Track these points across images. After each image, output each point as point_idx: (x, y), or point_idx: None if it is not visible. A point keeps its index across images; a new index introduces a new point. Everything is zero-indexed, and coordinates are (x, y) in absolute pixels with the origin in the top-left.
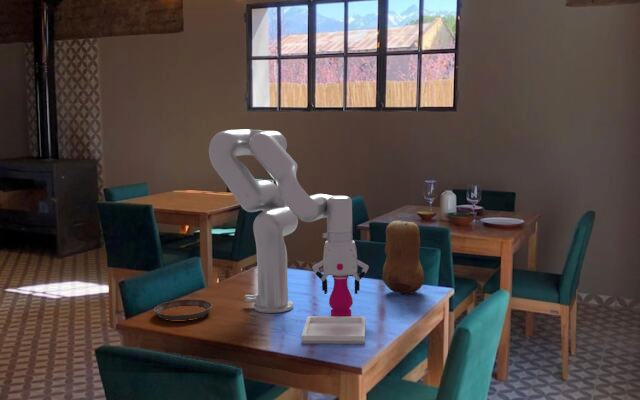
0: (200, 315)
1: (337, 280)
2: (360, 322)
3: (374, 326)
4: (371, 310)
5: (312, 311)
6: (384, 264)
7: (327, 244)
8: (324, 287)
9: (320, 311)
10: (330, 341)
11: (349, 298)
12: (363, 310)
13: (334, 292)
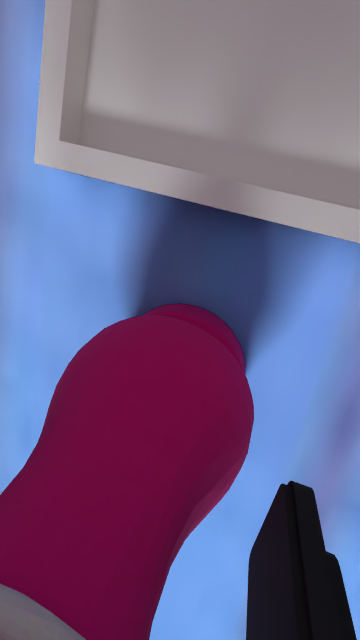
0: None
1: (84, 591)
2: (88, 146)
3: (19, 107)
4: (16, 399)
5: (332, 494)
6: None
7: None
8: (325, 560)
9: (283, 477)
10: None
11: (73, 361)
12: None
13: (195, 447)
